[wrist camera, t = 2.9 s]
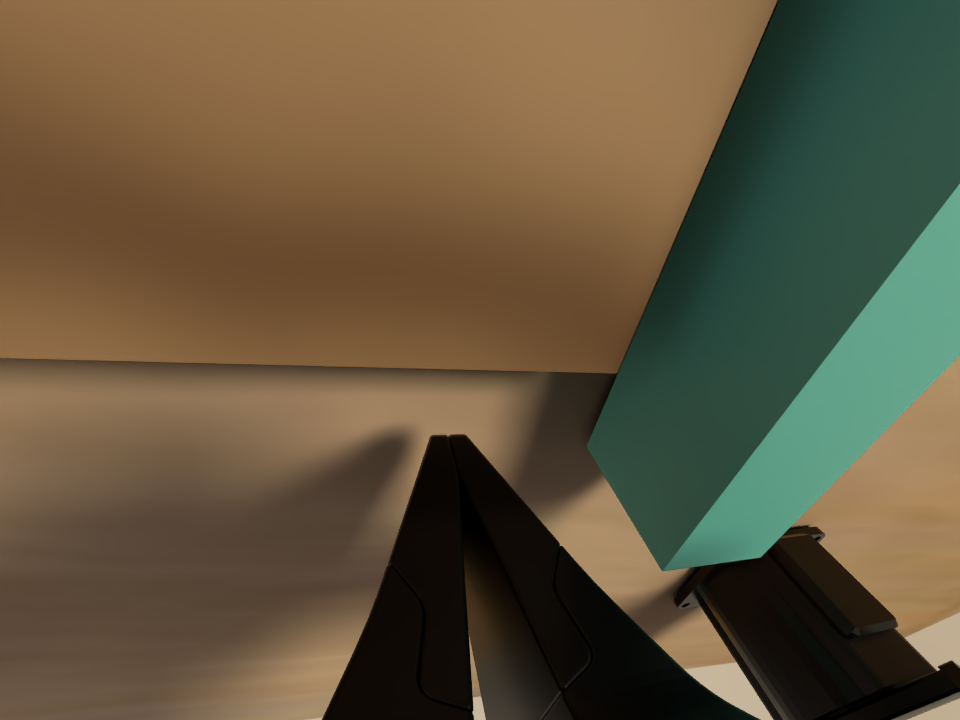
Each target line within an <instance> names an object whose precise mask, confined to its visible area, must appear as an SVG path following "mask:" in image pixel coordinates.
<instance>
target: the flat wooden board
mask: <svg viewBox="0 0 960 720" xmlns="http://www.w3.org/2000/svg"><path fill="white" fill-rule="evenodd" d="M776 3H777V0H0V358H23V359H63V360H102V361H142V362H182V363H222V364H262V365H301V366H341V367H381V368H421V369H461V370H500V371H540V372H580V373H617V372H618V370H619V368H620V365H621V363H622V361H623V358H624V356H625V354H626V351H627V349H628V347H629V344H630V342H631V340H632V337H633V335H634V333H635V330H636V328H637V326H638V324H639V321H640V319H641V317H642V314H643V312H644V310H645V307H646V305H647V303H648V300H649V298H650V296H651V293H652V291H653V289H654V286H655V284H656V282H657V279H658V277H659V275H660V272H661V270H662V268H663V265H664V263H665V261H666V258H667V256H668V254H669V251H670V249H671V247H672V244H673V242H674V240H675V238H676V235H677V233H678V231H679V228H680V226H681V224H682V221H683V219H684V217H685V214H686V212H687V210H688V207H689V205H690V203H691V200H692V198H693V196H694V193H695V191H696V189H697V186H698V184H699V182H700V179H701V177H702V175H703V172H704V170H705V168H706V165H707V163H708V161H709V159H710V156H711V154H712V152H713V149H714V147H715V145H716V142H717V140H718V138H719V135H720V133H721V131H722V128H723V126H724V124H725V121H726V119H727V117H728V114H729V112H730V110H731V107H732V105H733V103H734V100H735V98H736V96H737V93H738V91H739V89H740V86H741V84H742V82H743V79H744V77H745V75H746V73H747V70H748V68H749V66H750V63H751V61H752V59H753V56H754V54H755V52H756V49H757V47H758V45H759V42H760V40H761V38H762V35H763V33H764V31H765V28H766V26H767V24H768V21H769V19H770V17H771V14H772V12H773V10H774V7H775V5H776Z"/></svg>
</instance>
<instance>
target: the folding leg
mask: <svg viewBox="0 0 960 720" xmlns="http://www.w3.org/2000/svg"><path fill="white" fill-rule="evenodd" d="M959 356H960V0H779V2H778V5H777V7H776V9H775V12H774V14H773V16H772V19H771V21H770V23H769V25H768V28H767V30H766V32H765V35H764V37H763V39H762V42H761V44H760V46H759V49H758V51H757V53H756V56H755V58H754V60H753V62H752V65H751V67H750V69H749V72H748V74H747V76H746V79H745V81H744V83H743V86H742V88H741V90H740V93H739V95H738V97H737V99H736V102H735V104H734V106H733V109H732V111H731V113H730V116H729V118H728V120H727V123H726V125H725V127H724V130H723V132H722V134H721V137H720V139H719V141H718V143H717V146H716V148H715V150H714V153H713V155H712V157H711V160H710V162H709V164H708V167H707V169H706V171H705V174H704V176H703V178H702V180H701V183H700V185H699V187H698V190H697V192H696V194H695V197H694V199H693V201H692V204H691V206H690V208H689V211H688V213H687V215H686V218H685V220H684V222H683V224H682V227H681V229H680V231H679V234H678V236H677V238H676V241H675V243H674V245H673V248H672V250H671V252H670V255H669V257H668V259H667V261H666V264H665V266H664V268H663V271H662V273H661V275H660V278H659V280H658V282H657V285H656V287H655V289H654V292H653V294H652V296H651V299H650V301H649V303H648V305H647V308H646V310H645V312H644V315H643V317H642V319H641V322H640V324H639V326H638V329H637V331H636V333H635V336H634V338H633V340H632V342H631V345H630V347H629V349H628V352H627V354H626V356H625V359H624V361H623V363H622V366H621V368H620V370H619V373H618V375H617V377H616V380H615V382H614V384H613V386H612V389H611V391H610V393H609V396H608V398H607V400H606V403H605V405H604V407H603V410H602V412H601V414H600V417H599V419H598V421H597V423H596V426H595V428H594V430H593V433H592V435H591V437H590V440H589V442H588V444H587V448H588V450H589V452H590V453H591V455H592V457H593V458H594V460H595V461H596V463H597V465H598V466H599V468H600V470H601V471H602V473H603V475H604V476H605V478H606V480H607V481H608V483H609V484H610V486H611V488H612V489H613V491H614V493H615V494H616V496H617V498H618V499H619V501H620V503H621V504H622V506H623V508H624V509H625V511H626V512H627V514H628V516H629V517H630V519H631V521H632V522H633V524H634V526H635V527H636V529H637V531H638V532H639V534H640V535H641V537H642V539H643V540H644V542H645V544H646V545H647V547H648V549H649V550H650V552H651V554H652V555H653V557H654V558H655V560H656V562H657V563H658V565H659V567H660V568H661V570H662V571H669V570H676V569H683V568H690V567H697V566H704V565H711V564H718V563H725V562H732V561H739V560H746V559H753V558H760V557H762V556H763V554H764V553H765V552H766V551H767V550H768V549H769V548H770V547H771V546H772V545H773V544H774V543H775V542H776V541H777V540H778V539H779V538H780V537H781V536H782V535H783V534H784V533H785V532H786V531H787V530H788V529H789V528H790V527H791V526H792V525H793V524H794V523H795V522H796V521H797V520H798V519H799V518H800V517H801V516H802V515H803V514H804V513H805V512H806V511H807V510H808V509H809V508H810V507H811V506H812V505H813V504H814V503H815V502H816V501H817V500H818V499H819V498H820V497H821V496H822V495H823V494H824V493H825V492H826V491H827V490H828V489H829V487H830V486H831V485H832V484H833V483H834V482H835V481H836V480H837V479H838V478H839V477H840V476H841V475H842V474H843V473H844V472H845V471H846V470H847V469H848V468H849V467H850V466H851V465H852V464H853V463H854V462H855V461H856V460H857V459H858V458H859V457H860V456H861V455H862V454H863V453H864V452H865V451H866V450H867V449H868V448H869V447H870V446H871V445H872V444H873V443H874V442H875V441H876V440H877V439H878V438H879V437H880V436H881V435H882V434H883V433H884V432H885V431H886V430H887V429H888V428H889V427H890V426H891V425H892V424H893V423H894V422H895V420H896V419H897V418H898V417H899V416H900V415H901V414H902V413H903V412H904V411H905V410H906V409H907V408H908V407H909V406H910V405H911V404H912V403H913V402H914V401H915V400H916V399H917V398H918V397H919V396H920V395H921V394H922V393H923V392H924V391H925V390H926V389H927V388H928V387H929V386H930V385H931V384H932V383H933V382H934V381H935V380H936V379H937V378H938V377H939V376H940V375H941V374H942V373H943V372H944V371H945V370H946V369H947V368H948V367H949V366H950V365H951V364H952V363H953V362H954V361H955V360H956V359H957V358H958V357H959Z"/></svg>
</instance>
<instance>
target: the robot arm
mask: <svg viewBox="0 0 960 720" xmlns="http://www.w3.org/2000/svg"><path fill="white" fill-rule="evenodd" d="M824 537H825V534H824V533H823V532H822V531H821V530H820V529H819V528H818V527H809V528H801V529H792V530H787V531H786V532H785V533H784V534H783V535H782V536H781V537H780V538H779V539H778V540H777V541H776V542H775V543H774V544H773V545H772V546H771V547H770V548H769V549H768V550H767V551H766V552H765V553H764V554H763V556H762V557H760V558H753V559H746V560H739V561H732V562H725V563H718V564H711V565H704V566H702V567H701V568H700V569H699V571H698V572H697V573H696V574H695V575H694V576H693V578H692V579H691V580H690V581H689V582H688V583H687V585H686V586H685V587H684V588H683V589H682V590H681V591H680V593H679V594H678V595H677V596H676V597H675V598H674V600H673V601H674V603H675V605H676V606H677V608H678V609H679V610H681V609H687V608H693V607H698V606H701V608H702V609H703V611H704V612H705V614H706V615H707V617H708V618H709V620H710V622H711V623H712V625H713V626H714V628H715V629H716V631H717V632H718V634H719V636H720V637H721V639H722V640H723V642H724V643H725V645H726V646H727V648H728V650H729V651H730V653H731V654H732V656H733V657H734V659H735V660H736V662H737V663H738V665H739V667H740V668H741V670H742V671H743V673H744V674H745V676H746V678H747V679H748V681H749V682H750V684H751V685H752V687H753V688H754V690H755V691H756V693H757V695H758V696H759V698H760V699H761V701H762V702H763V704H764V705H765V707H766V709H767V710H768V711H769V713H770V715H771V716H772V718H773V719H774V720H907V719H909V718H912V717H914V716H917V715H919V714H922V713H924V712H927V711H929V710H931V709H934V708H937V707H939V706H941V705H944V704H946V703H949V702H951V701H954V700H956V699H959V698H960V666H959V665H957V664H956V663H954V662H953V661H949V662H947V663H944V664H942V665H940V666H938V668H939V669H940V670H939V671H937V670H936V669H935V668H933V666H931V664H930V663H929V662H928V661H927V660H925V658H924V657H923V656H922V655H920V653H919V652H918V651H917V650H916V649H915V648H914V647H913V646H911V644H910V643H909V642H908V641H906V639H905V638H904V637H903V636H902V635H901V634H900V633H899V632H898V631H897V630H896V629H895V628H896V627H898V623H897V621H896V619H895V617H894V616H893V615H892V614H891V613H890V612H889V611H888V610H887V609H886V608H885V607H884V606H883V605H882V604H881V603H880V602H879V601H878V600H877V599H876V598H875V597H874V596H873V595H872V594H871V593H870V592H868V591H867V590H866V589H865V588H864V587H863V586H862V585H861V584H860V583H859V582H858V581H857V580H856V579H855V578H854V577H853V576H852V575H851V574H850V573H849V572H848V571H847V570H846V569H845V568H844V567H843V566H842V565H841V564H840V563H839V562H838V561H837V560H836V559H835V558H834V557H833V556H832V555H831V554H830V553H828V552H827V551H826V550H825V549H824V548H823V547H822V546H821V545H820V544H819V543H818V542H820V541H821V540H822V539H823V538H824ZM559 546H560V543H559V542H558V541H557V540H556V538H555V537H554V536H553V535H552V534H551V533H550V531H549V530H548V529H547V528H546V527H545V526H544V525H543V523H542V522H541V521H540V520H539V519H538V518H537V516H536V515H535V514H534V513H533V512H532V511H531V509H530V508H529V507H528V506H527V505H526V504H525V503H524V501H523V500H522V499H521V498H520V497H519V496H518V494H517V493H516V492H515V491H514V490H513V489H512V488H511V486H510V485H509V484H508V483H507V482H506V481H505V479H504V478H503V477H502V476H501V475H500V474H499V473H498V471H497V470H496V469H495V468H494V467H493V466H492V464H491V463H490V462H489V461H488V460H487V459H486V457H485V456H484V455H483V454H482V453H481V452H480V451H479V449H478V448H477V447H476V446H475V445H474V444H473V442H472V441H471V440H470V439H469V438H468V437H467V436H466V435H464V434H454V435H449V436H447V435H432V436H431V437H430V439H429V442H428V445H427V448H426V451H425V454H424V457H423V460H422V463H421V466H420V469H419V472H418V475H417V478H416V481H415V484H414V487H413V490H412V493H411V496H410V499H409V502H408V505H407V508H406V511H405V514H404V517H403V520H402V523H401V526H400V529H399V532H398V535H397V538H396V541H395V544H394V547H393V550H392V553H391V556H390V559H389V562H388V566H387V567H386V570H385V573H384V576H383V579H382V582H381V585H380V588H379V591H378V594H377V596H376V599H375V602H374V604H373V607H372V610H371V613H370V615H369V618H368V620H367V622H366V625H365V627H364V629H363V632H362V634H361V636H360V638H359V641H358V643H357V645H356V648H355V650H354V652H353V654H352V657H351V659H350V661H349V663H348V665H347V667H346V669H345V671H344V674H343V676H342V678H341V680H340V682H339V684H338V686H337V689H336V691H335V693H334V695H333V697H332V699H331V701H330V704H329V706H328V708H327V710H326V712H325V714H324V716H323V718H322V720H474V716H473V714H472V712H473V696H472V680H471V664H470V648H469V636H470V641H471V646H472V651H473V656H474V661H475V666H476V671H477V676H478V681H479V687H480V692H481V697H482V702H483V706H484V712H485V717H486V720H760V719H758V718H756V717H754V716H752V715H750V714H748V713H746V712H745V711H743V710H741V709H739V708H737V707H735V706H733V705H732V704H730V703H728V702H726V701H725V700H723V699H722V698H720V697H718V696H717V695H715V694H714V693H713V692H711V691H710V690H708V689H707V688H706V687H704V686H703V685H702V684H700V683H699V682H698V681H697V680H696V679H694V678H693V677H692V676H691V675H689V674H688V673H687V672H686V671H685V670H684V669H683V668H682V667H681V666H680V665H679V664H677V663H676V662H675V661H674V660H673V659H672V658H671V657H670V656H669V655H668V654H667V653H666V652H665V651H664V650H663V649H662V648H661V647H660V646H659V645H658V644H657V643H656V642H655V641H654V640H653V639H652V638H651V637H650V636H649V635H648V634H646V633H645V632H644V631H643V630H642V629H641V628H640V627H639V626H638V625H637V624H636V623H635V622H634V621H633V620H632V619H631V618H630V617H629V616H628V615H627V614H626V613H625V612H624V611H623V610H622V609H621V608H620V607H619V606H618V605H617V604H616V603H615V602H614V601H613V600H612V599H611V598H610V597H609V596H608V595H607V594H606V593H605V592H604V591H603V590H602V589H601V588H600V587H599V586H598V585H597V584H596V583H595V582H594V581H593V580H592V579H591V578H590V577H589V576H588V574H587V573H586V572H585V571H584V570H583V569H582V568H581V567H580V566H579V565H578V563H577V562H576V561H575V560H574V559H573V558H572V557H571V556H570V554H569V553H568V552H567V551H566V550H565V549H564V547H563V546H560V547H559ZM468 631H469V633H468Z"/></svg>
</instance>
